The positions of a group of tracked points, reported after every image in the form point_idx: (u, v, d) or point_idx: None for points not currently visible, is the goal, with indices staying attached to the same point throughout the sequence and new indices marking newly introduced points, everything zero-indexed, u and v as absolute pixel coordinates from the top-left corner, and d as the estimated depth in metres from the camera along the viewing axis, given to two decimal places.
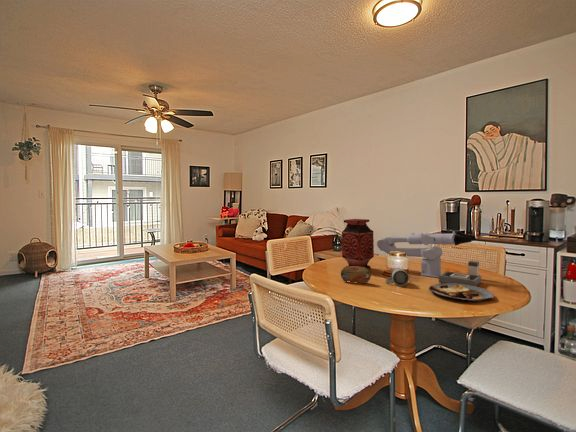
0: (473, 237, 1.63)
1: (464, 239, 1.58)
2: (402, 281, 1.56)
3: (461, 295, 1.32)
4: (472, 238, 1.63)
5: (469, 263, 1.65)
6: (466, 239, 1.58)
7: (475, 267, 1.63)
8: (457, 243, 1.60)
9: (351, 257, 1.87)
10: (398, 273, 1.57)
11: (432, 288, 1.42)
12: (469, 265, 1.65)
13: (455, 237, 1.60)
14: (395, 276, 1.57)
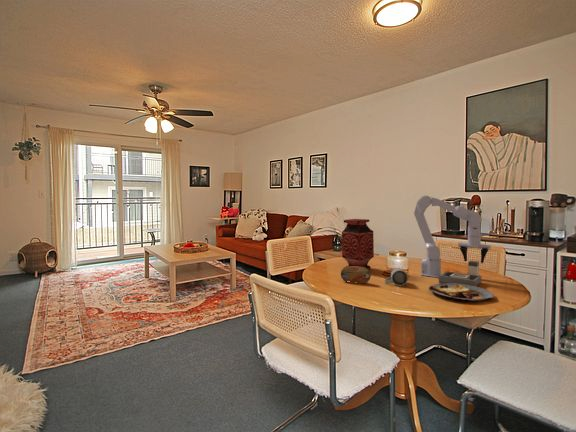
0: (466, 259, 1.68)
1: None
2: (401, 281, 1.56)
3: (461, 295, 1.32)
4: (466, 258, 1.68)
5: (469, 263, 1.65)
6: (483, 258, 1.62)
7: (475, 267, 1.63)
8: (485, 252, 1.60)
9: (351, 257, 1.87)
10: (397, 273, 1.57)
11: (432, 288, 1.42)
12: (469, 265, 1.65)
13: None
14: (394, 276, 1.58)
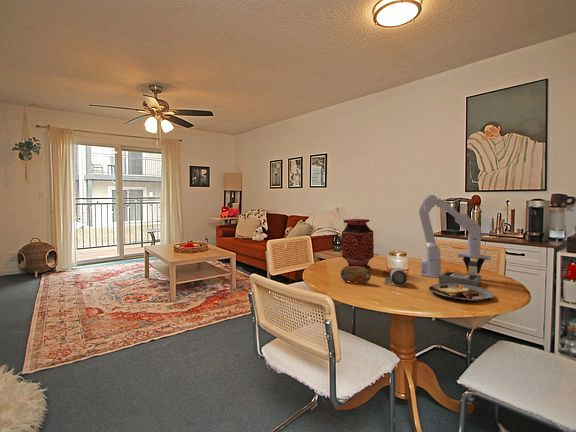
0: None
1: (479, 267, 1.64)
2: (400, 281, 1.57)
3: (461, 295, 1.32)
4: None
5: (469, 263, 1.65)
6: (479, 269, 1.64)
7: (475, 267, 1.63)
8: (482, 262, 1.61)
9: (351, 257, 1.87)
10: (396, 273, 1.57)
11: (432, 288, 1.42)
12: (469, 265, 1.65)
13: (484, 260, 1.63)
14: (393, 276, 1.58)
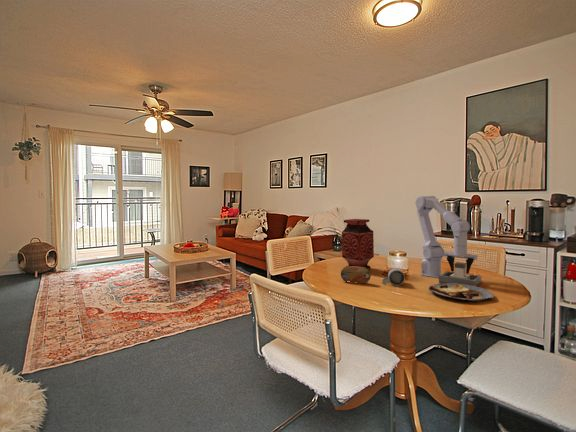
0: (453, 269, 1.61)
1: (468, 267, 1.56)
2: (398, 281, 1.57)
3: (461, 295, 1.32)
4: (453, 268, 1.60)
5: (455, 265, 1.58)
6: (468, 269, 1.56)
7: (461, 269, 1.56)
8: (471, 262, 1.53)
9: (351, 257, 1.87)
10: (394, 273, 1.57)
11: (432, 288, 1.42)
12: (455, 267, 1.58)
13: (473, 260, 1.55)
14: (391, 276, 1.58)
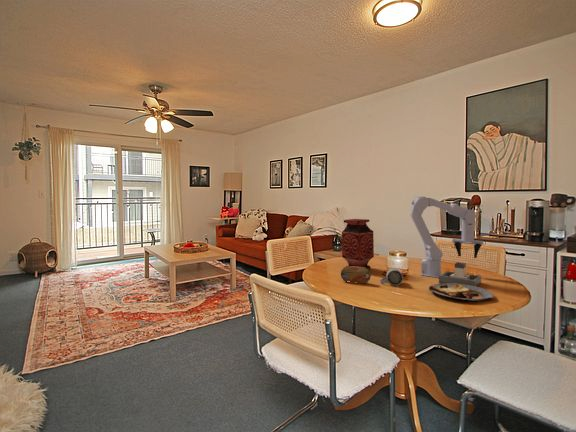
0: (460, 254, 1.74)
1: None
2: (396, 281, 1.57)
3: (461, 295, 1.32)
4: (460, 254, 1.73)
5: (455, 265, 1.58)
6: (476, 254, 1.68)
7: (461, 269, 1.56)
8: (478, 247, 1.66)
9: (351, 257, 1.87)
10: (392, 273, 1.57)
11: (432, 288, 1.42)
12: (455, 267, 1.58)
13: (480, 245, 1.67)
14: (389, 276, 1.58)
